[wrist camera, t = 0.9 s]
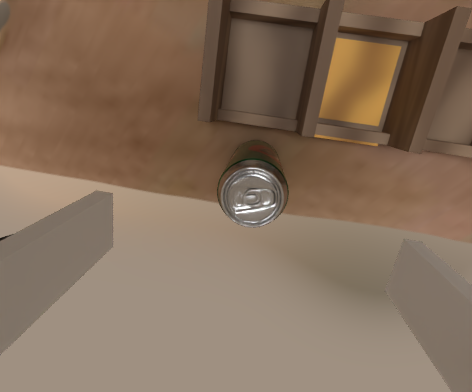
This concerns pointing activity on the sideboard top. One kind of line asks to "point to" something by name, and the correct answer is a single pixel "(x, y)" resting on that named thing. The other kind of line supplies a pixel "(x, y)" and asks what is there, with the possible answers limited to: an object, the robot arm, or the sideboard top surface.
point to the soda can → (253, 185)
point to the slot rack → (340, 74)
